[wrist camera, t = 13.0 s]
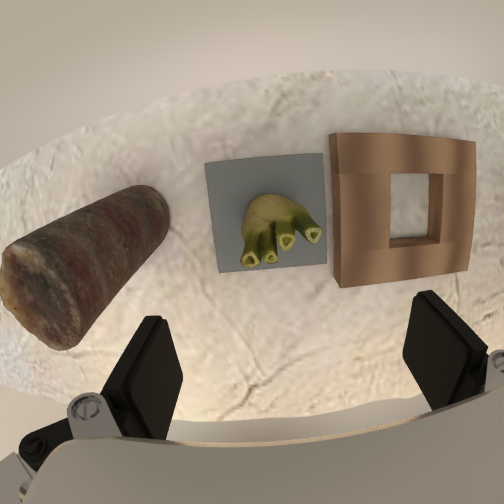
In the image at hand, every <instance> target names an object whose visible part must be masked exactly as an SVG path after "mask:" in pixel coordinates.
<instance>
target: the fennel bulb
mask: <svg viewBox="0 0 504 504" xmlns="http://www.w3.org/2000/svg"><path fill="white" fill-rule="evenodd" d="M296 231H299V233H300V234H301V235H302V236H303V237H304V238H305V239H306V240H307V241H308V242H309V243H310V244H315V243H317V242H318V241H319V239H320V238H321V236H322V234H323V233H322V228H321V227H320V226H319V225H318V224H317V223H316V222H315V221H314V220H313V219H312V217H311V216H310V214H309V211H308V210H307V209H306V208H305V207H304V206H302V205H300V204H298V203H295V202H294V201H292V200H290V199H288V198H285V197H283V196H279V195H276V194H262V195H259V196H256V197H255V198H254V199H252V200H251V201H250V202H249V204H248V206H247V211H246V215H245V217H244V219H243V222H242V226H241V236H242V239H243V241H244V244H245V246H244V250H243V253H242V256H241V258H240V263H241V264H242V265H243V267H247V268H252V267H257V266H258V265H260V264H261V260H262V256H263V260H264V262H265V263H268V264H273V263H276V262H278V261H279V258H278V252H277V244H279V245H280V248H281V250H282V251H287V250H290V249H291V247H292V246H293V244H294V243H295V240H296V236H295V233H296Z"/></svg>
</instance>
